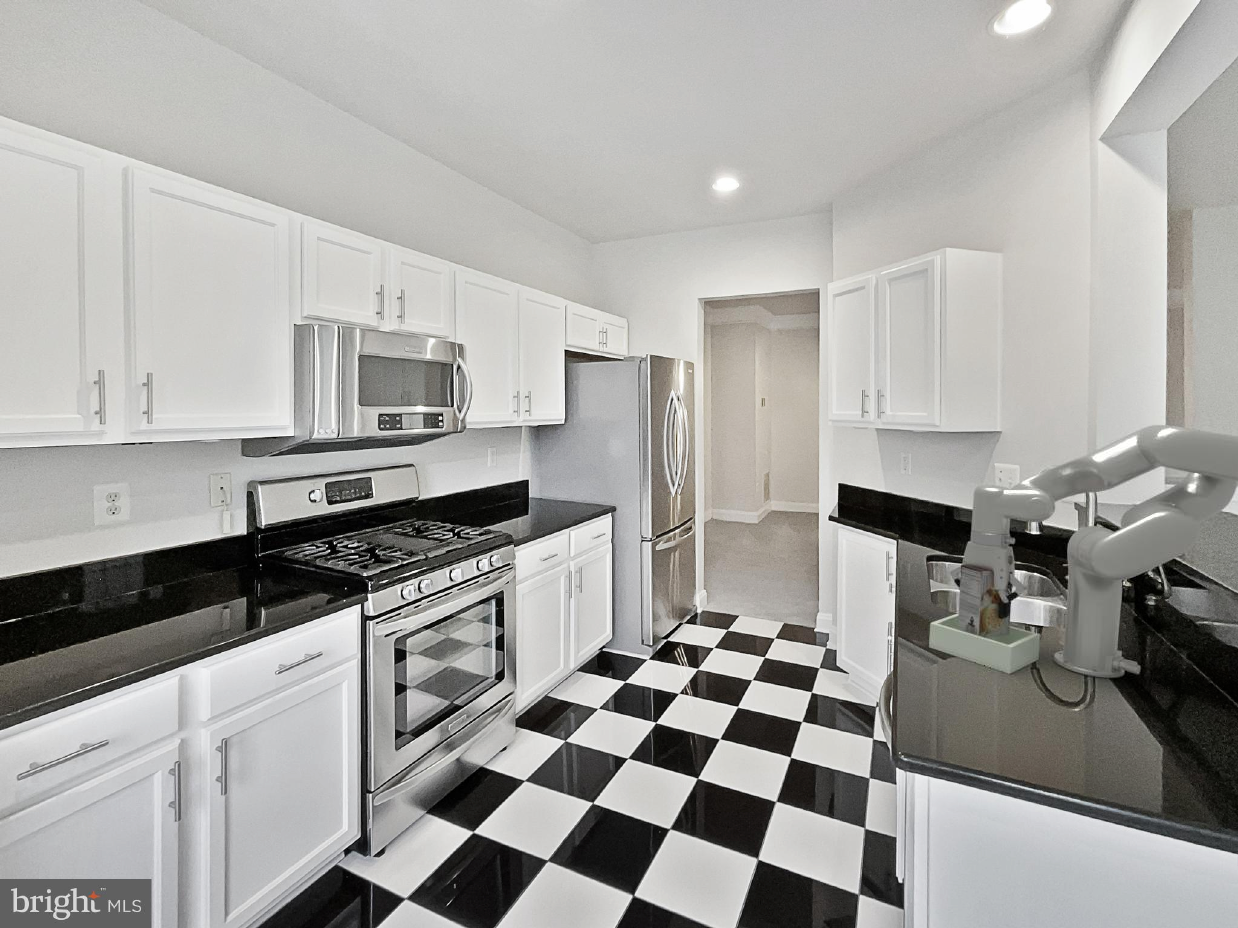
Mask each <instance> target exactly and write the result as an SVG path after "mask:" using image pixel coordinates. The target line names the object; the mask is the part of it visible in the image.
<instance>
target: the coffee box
mask: <svg viewBox="0 0 1238 928" xmlns="http://www.w3.org/2000/svg"><path fill="white" fill-rule="evenodd" d="M962 564H963V563H962ZM962 564H961V565H960V566H961V573H960V591H959V595H958V598H959V599H958V613H959V614H958V630H960V631H963V632H967V633H970V634H973V635H977V636H980V637H984V638H990V637H998V636H1006V635H1009V628H1010V626H1011V625H1010V624H1011V610H1012V608H1011V607H1012V605H1011V606H1010V614H1009V616H1008V617H1007V618H1004V619H999V618H998V614H999V603H1000V602H1001V601H1002V599H1001V597H1000V595H999V593H998V591H997V590H995V589H994V571H993V570H990V569H985V568H981V567H976V566H972V565H967V564H963V565H962ZM1008 586H1011V583H1010V582H1009V581H1008ZM1008 588H1009V587H1008ZM1009 590H1010V592H1011V593H1013V587H1012V588H1009Z"/></svg>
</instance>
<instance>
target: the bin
mask: <svg viewBox="0 0 1238 928" xmlns="http://www.w3.org/2000/svg"><path fill="white" fill-rule="evenodd" d="M958 614H959V612H958V613H955V614H952V615H950V616H946V617H944V618H941V619H937V620H935V621H932V622H930V624H929V638H928V639H929V640H928V641H929V642H928V648H930V649H933V650H936V651H939V652H942V653H945V654H948V655H951V656H954V657H957V658H960V659H963V660H967V661H969V662H971V663H975V662H976V664H978V665H981V666H984V665H985V666H984V667H986V668H990V667H991V668H990V669H993V668H994V670H996V671H999V672H1002V671H1003V673H1006V674H1008V675H1010V673H1011V674H1012V673H1015V672H1016V671H1018V670H1020V669H1022V668H1024V667H1027V666H1028V665H1030V664H1032V663H1034V662H1036V661H1038V660H1039V656H1040V643H1041V642H1040V640H1041V634H1040V633H1037V632H1033V631H1029V630H1027V629H1022V628H1020V627H1019V628H1018V627H1016V626H1012V625H1010V628H1009V635H1006V636H998V637H990V638H984V637H980V636H977V635H973V634H970V633H967V632H963V631H960V630H958Z"/></svg>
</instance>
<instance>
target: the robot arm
mask: <svg viewBox="0 0 1238 928" xmlns="http://www.w3.org/2000/svg"><path fill="white" fill-rule="evenodd" d="M1161 467H1162V468H1167V469H1172V470H1178V471H1182V472H1187V475H1186V476H1185V478H1183V479H1182V480H1181V481H1180V482H1179V483H1176V484H1175V485H1174V486H1172V487H1170V488H1168V489H1166V490H1164V491H1163V492H1161V493H1158V494H1155V495H1154V496H1153V497H1151V498H1148V499H1146V500H1143V501H1142V502H1141V503H1137V504H1136V505H1134V506H1132V507H1130V508H1129V509H1127V510H1126V511H1125V512H1124V513H1123V514H1122V516H1121V519H1120V526H1121V527H1120V529H1117V530H1116V531H1113V530H1111V529H1108V527H1107V528H1106V527H1103V526H1099V525H1095V526H1094V525H1090V526H1084V527H1082V528H1080V529H1077V531H1075V532H1074V533H1073V534H1072V535H1071V537H1070V539H1069V540H1068V543H1067V553H1066V554H1067V565H1068V566H1067V568H1068V569H1067V570H1068V571H1067V573H1068V579H1067V581H1068V583H1067V592H1066V593H1067V594H1066V595H1067V597H1066V607H1065V608H1066V609H1065V621H1064V622H1065V623H1064V633H1063V635H1064V636H1063V647H1062V648H1063V650H1059V651H1057V652H1055V653H1054V655H1053V660H1054V662H1055V663H1056V664H1058V665H1059V666H1061V667H1063V668H1064V669H1067V670H1069V671H1072V672H1074V673H1077V674H1082V675H1085V676H1089V677H1090V676H1091V677H1096V678H1106V679H1107V678H1109V679H1112V678H1113V679H1114V678H1120V677H1123V676H1124V675H1125V673H1126V672H1125V671H1127V672H1128V673H1132V674H1135V675H1139V674H1140V672H1141V665H1139V664H1138V662H1137V661H1133V660H1130V659H1129V660H1128V659H1125V657H1123V656H1122V654H1123V651H1122V650H1118V642H1119V630H1120V629H1119V628H1120V619H1121V618H1120V617H1121V606H1122V597H1123V582H1122V581H1125V580H1128V579H1131V578H1134V577H1136V576H1139V575H1141V574H1143V573H1145V572H1148V571H1150V570H1152V569H1155V568H1156V567H1158V566H1161V565H1163V564H1165V563H1168V562H1169V561H1171V560H1174V559H1175V558H1178V557H1181V555H1183V554H1185V553H1187V552H1188V551H1189V550H1190V549H1192V547H1193V546H1194V545H1195V544H1196V542H1197V541H1198V539H1199V536H1200V526H1199V524H1201V523H1203V522H1204V521H1206V520H1209V519H1210V518H1213V516H1216V515H1217V514H1219V513H1220V512H1222V511H1223V510H1224V509H1225V508H1227V506H1228V505H1229V504H1230V502H1231V501H1232V499H1233V497H1234V495H1235V493H1236V490H1237V486H1238V436H1236V435H1231V434H1223V433H1220V432H1219V433H1217V432H1211V431H1205V430H1200V429H1199V430H1198V429H1194V428H1189V427H1184V426H1177V425H1167V424H1165V425H1164V424H1155V425H1154V424H1153V425H1149V426H1146V427H1145V426H1144V427H1142V428H1141V429H1139V430H1135V432H1132V433H1130V434H1128V435H1125V436H1124V437H1122V438H1119V439H1117V440H1115V441H1113V442H1111V443H1109V444H1107V445H1104V446H1103V447H1101V448H1099V449H1097V450H1094V451H1092V452H1090V453H1088V454H1086V455H1084V456H1081V457H1078V458H1075V459H1072V460H1070V461H1067V462H1065V463H1063V464H1059V465H1057V466H1054V467H1052V468H1049V469H1047V470H1044V471H1041V472H1040V473H1037V474H1035V475H1033V476H1031V477H1029V478H1027V479H1025V480H1023V481H1021V482H1019V483H1017V484H1015V485H1014V486H1012V487H1011V488H1009V487H1006V486H1002V485H1001V486H1000V485H994V484H993V485H989V484H985V485H977V486H976V487H975V489H974V492H973V500H972V501H973V502H972V516H971V529H970V530H971V532H970V541H968V542H967V544H966V547H965V550H964V554H963V559H962V564H961V565H963V564H967V565H972V566H976V567H981V568H985V569H990V570H993V571H994V589H995V590H997V591H998V593H999V595H1000V597H1001V599H1002V601H1001V602H1000V603H999V614H998V618H999V619H1004V618H1007V617H1008V616H1009V614H1010V615H1011V612H1010V606H1011V607H1012V602H1013V601H1014V600H1016V599H1017V598H1018V597H1020V596H1021V595H1022V594H1024V592H1026V590H1027V589H1028V588H1027V587H1026V585H1024V583H1022V582H1021V581H1020V580H1019V579H1018V578H1017V577H1016V576H1015V575H1016V573H1015V570H1016V569H1015V555H1014V550H1013V547H1012V546H1009V545H1010V544H1012V545H1014V544H1015V543H1016V539H1015V537H1011V534H1010V526H1011V525H1010V524H1011V519H1012V520H1013V519H1014V520H1017V521H1018V520H1019V521H1023V522H1029V523H1040V522H1044V521H1047V520H1049V519H1050V518H1051V517H1052V516H1053V515H1054V513H1055V512H1056V510H1055V509H1056V504H1055V503H1057V502H1058V501H1060V500H1061V501H1062V500H1063V499H1066V498H1069V497H1072V496H1077V495H1081V494H1089V493H1098V492H1099V493H1100V492H1104V491H1105V492H1106V491H1108V490H1111V489H1114V488H1116V487H1119V486H1121V485H1123V484H1125V483H1127V482H1129V481H1131V480H1133V479H1136V478H1138V477H1141V476H1143V475H1144V474H1147V473H1149V472H1151V471H1154V470H1156V469H1157V468H1161ZM961 565H960V566H958V567H956V568H954V569H951V570H950V571H949V574H950V576H951V577H952V580H953V581H954V583H955V585H956V587H958V590H959V592H960V578H961ZM1008 581H1009V582H1010V583H1011V586H1008ZM1008 587H1009V588H1012V589H1013V588H1015V589H1014V591H1012V593H1011V592H1010V590H1009V588H1008Z"/></svg>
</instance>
